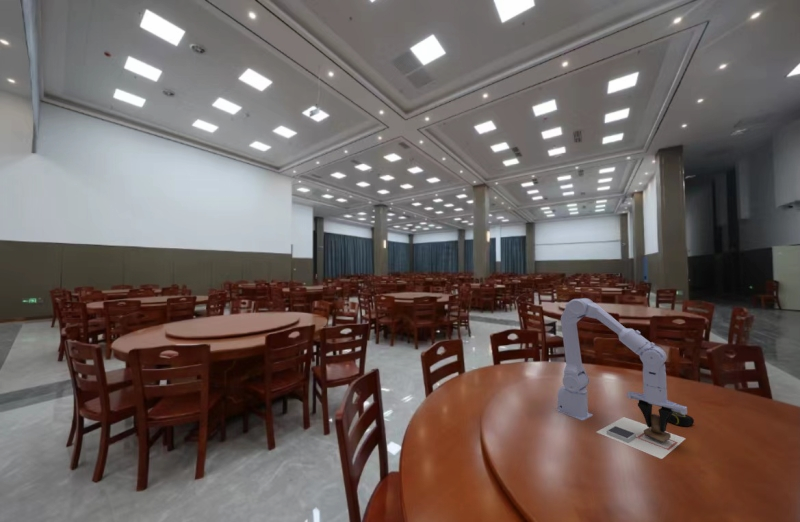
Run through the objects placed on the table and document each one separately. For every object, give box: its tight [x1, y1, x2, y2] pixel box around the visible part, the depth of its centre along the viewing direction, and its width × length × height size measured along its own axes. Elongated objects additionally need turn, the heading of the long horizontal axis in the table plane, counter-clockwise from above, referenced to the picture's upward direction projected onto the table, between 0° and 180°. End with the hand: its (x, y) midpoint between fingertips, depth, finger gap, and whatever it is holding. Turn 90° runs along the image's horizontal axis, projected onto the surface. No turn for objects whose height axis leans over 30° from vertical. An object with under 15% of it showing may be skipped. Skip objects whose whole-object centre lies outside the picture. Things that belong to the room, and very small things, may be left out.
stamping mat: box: [596, 416, 687, 460], centre depth 96 cm, size 17×21×2 cm
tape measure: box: [668, 411, 695, 427], centre depth 105 cm, size 7×7×4 cm
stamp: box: [644, 413, 671, 442], centre depth 93 cm, size 5×5×6 cm
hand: (656, 428), depth 93 cm, fingers closed on stamp, 3 cm apart
